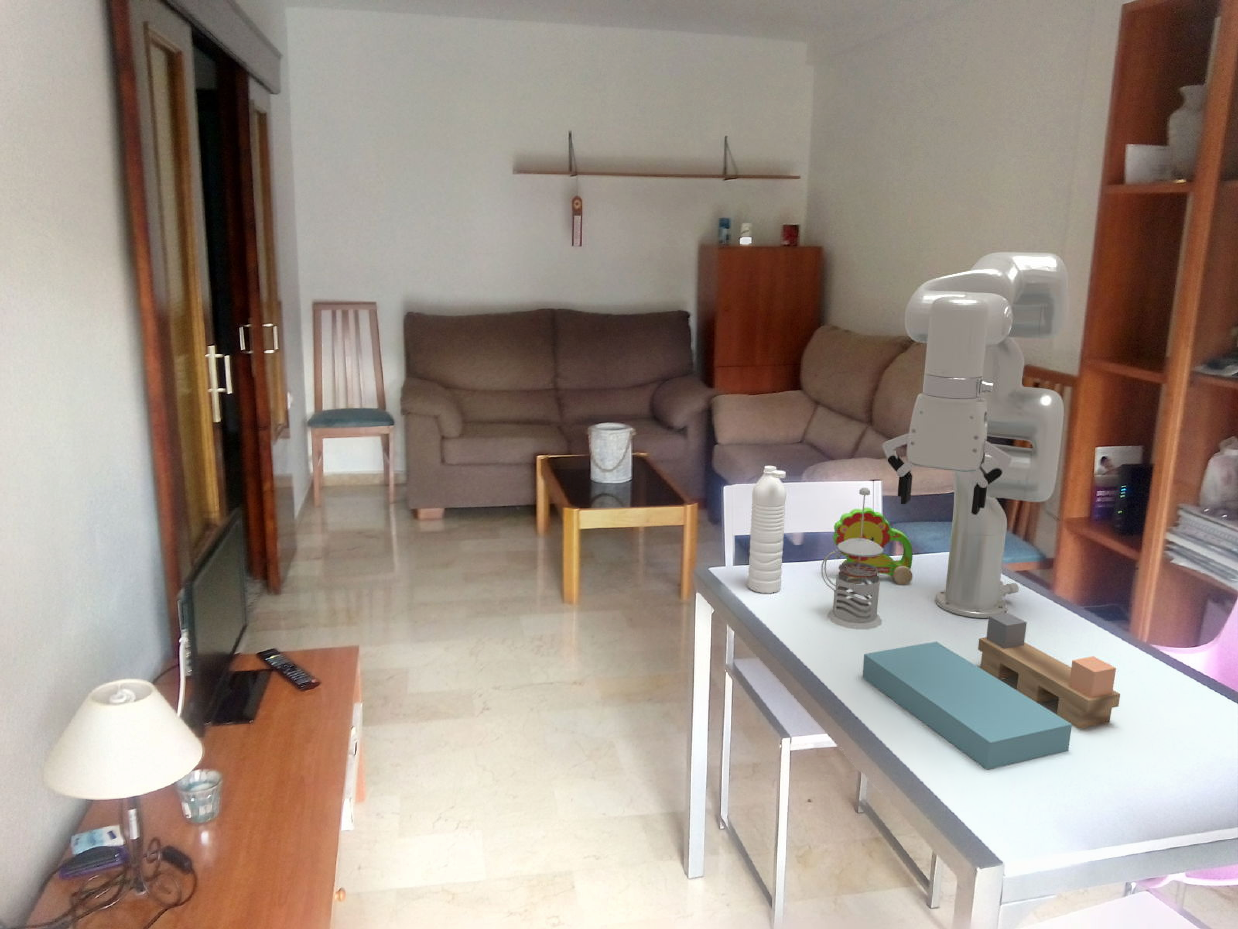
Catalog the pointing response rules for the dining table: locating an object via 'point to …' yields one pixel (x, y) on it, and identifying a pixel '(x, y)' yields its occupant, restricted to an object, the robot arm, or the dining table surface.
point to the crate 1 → (1006, 630)
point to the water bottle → (767, 532)
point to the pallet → (1046, 682)
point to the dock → (967, 705)
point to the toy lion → (880, 534)
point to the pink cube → (1092, 676)
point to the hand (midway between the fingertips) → (939, 507)
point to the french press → (856, 609)
